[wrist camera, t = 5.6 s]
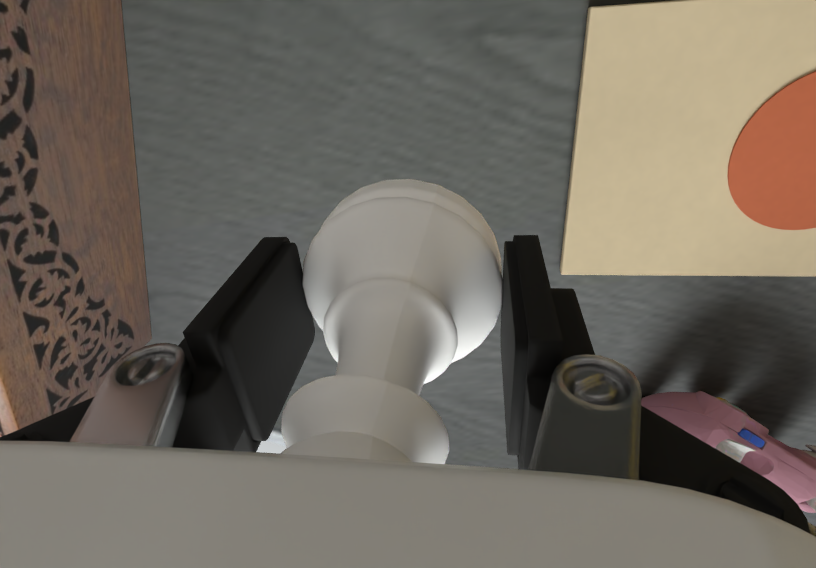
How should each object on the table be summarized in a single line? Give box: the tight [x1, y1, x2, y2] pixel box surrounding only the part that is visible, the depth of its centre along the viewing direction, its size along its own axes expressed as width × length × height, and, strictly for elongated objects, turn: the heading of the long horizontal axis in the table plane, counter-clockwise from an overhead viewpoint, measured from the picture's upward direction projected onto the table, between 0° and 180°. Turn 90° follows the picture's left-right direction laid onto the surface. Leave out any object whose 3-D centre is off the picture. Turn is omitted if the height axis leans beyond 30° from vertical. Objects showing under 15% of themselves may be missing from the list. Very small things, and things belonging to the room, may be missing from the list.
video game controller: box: [641, 391, 816, 513], centre depth 26 cm, size 10×5×7 cm, turn 58°
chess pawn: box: [281, 179, 503, 464], centre depth 9 cm, size 5×5×9 cm
